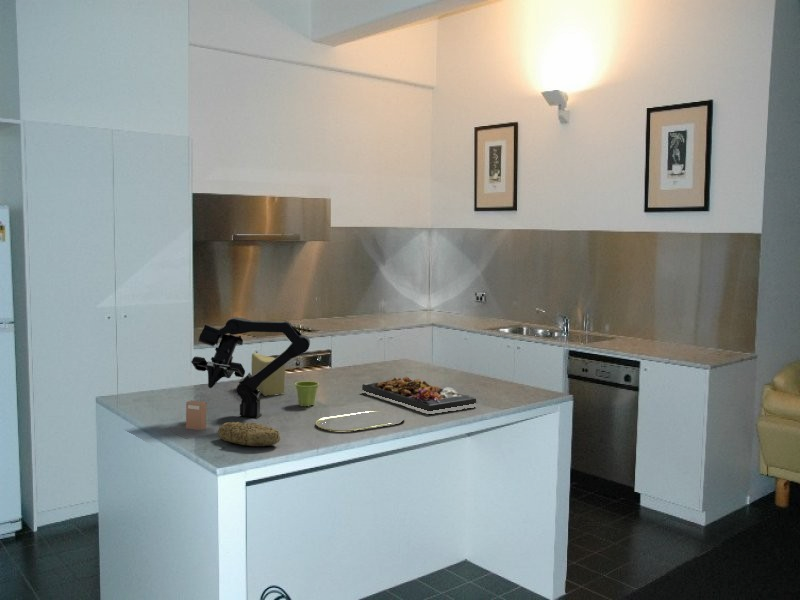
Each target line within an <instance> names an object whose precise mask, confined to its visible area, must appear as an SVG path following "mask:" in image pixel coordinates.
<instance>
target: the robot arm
mask: <svg viewBox="0 0 800 600" xmlns="http://www.w3.org/2000/svg"><path fill="white" fill-rule="evenodd" d="M247 333H283V334H284V335H285V337H287V339H288V340H289V341H290V342H291V343H290V345H289V346H287V348H286V349H285V350H284V351H283V352H281V353H280V354H279V355H278V356H276V357H274V358H275V359H274V360H273V361H271V362H270V363H269V364H268V365H266V366H265V367H264V368H262V369H261V370H260V371H259V372H257V373H256V374H254V375H252V373H251V372H248V373H247V375H246V376H245V373H246V370H245V368H244V367H243V364H242V363H239V362H233V359H234V356H233V354H234V352H235V349H236V346H237V345H239V346H243V343H244V340H243V338H242V336H241V335H242V334H247ZM239 334H241V335H239ZM236 335H237V336H236ZM238 335H239V336H238ZM198 342H199V343H201V344H204V345H208V346H211V347H215V345H217V346H218V347H217V346H216V347H215V349H214V350H215V353H214V356H211V358H210V360H211V361H209V360H208V361H207V360H206V358H205V357H202V356H198V355H197V356H194V357H193V358H192V360H191V361H190V362H191V365H192V366H193V367H194V369H195V370H196V371H200V372H205V371H207V385H208V386H207V387H208V389H212V388H213V387H214V386H215V385H216V384H217V383H218V382H219V381H220V380H222V378H226V379H230V378H231V377H232V375H233V374H234V376H235V377H236V378H237V377H238V378H241V379H240V380H239V381H238V385H237V387H236V388H235V389H236V394H237V396H239V397H240V398H241V400H240V401H241V402H240V404H239V416H238V417H239V418H243V419H253V420H257V419H258V418H260V417H261V416H262V415H263V414H262V413H261V399H259V398H260V395H261V392H259V391H258V390H257V389H256V388H257V387H258V386H259V385H260V384H261V382H263V381H264V380H265V379H266V378H268V377H269V376H270V375H271V374H273V373H274V372H275V371H276V370H278V369H279V368H280V367H282V366H283V365H284V364H285V365H286V364H287V363H288V362H289V361H291V360H292V359H294V358H296V357H299V356H301V355H303V354H304V353H306V352H307V351H308V350H309V347H311V346H310V344H311V340H310V338H309V337H308V336H307V335H304V334H302V333H301V332H300V331H299V330H298V329H297V328H296V327H295V326H293V325H292V323H291V322H289V321H287V320H284V321H276V320H275V321H273V320H270V321H267V320H264V321H263V320H250V319H247V318H242V317H239V316H238V317H236V316H234V317H233V316H232V317H231V318H229V320H227V322H225V324H224V326H222V327H220V328H217V327H214V326H211V325H209V324H207V323H206V324H204V327H203V328H202V331H201V332H200V334H199V337H198Z"/></svg>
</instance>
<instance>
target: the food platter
mask: <svg viewBox="0 0 800 600" xmlns="http://www.w3.org/2000/svg"><path fill="white" fill-rule="evenodd" d="M361 387H362V390H364V391H366V392H369V393H373V394H375V395H379V396H382V397H385V398H389V399H392V400H395V401H398V402H402V403H405V404H408V405H411V406H414V407H417V408H421V409H424V410H427V411H433V410H439V409H445V408H451V407H457V406H463V405H469V404H474V403H476V404H477V398H475V397H472V396H471V395H469V394H465V395H464V394H462V393H459V392H458V391H456V389H455V388H452V387H444V388H440V387H439V386H434V385H432V384H430V385H429V383H428V382H426V381H425V380H421V379H414V380H412V379H410V377H409V376H405V377H402V378H400V377H397V378H396V377H393V379H387V380H386V381H379V382H372V383H363V384H362V386H361ZM362 390H361V391H362Z"/></svg>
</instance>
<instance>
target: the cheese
mask: <svg viewBox="0 0 800 600" xmlns="http://www.w3.org/2000/svg"><path fill="white" fill-rule="evenodd" d="M275 358H276V357H274V356H273V357H272V356H268V355H265V354H260V353H258V352H257V353H252V354H251V375H254V374H256V373H257V372H259V371H260V370H261V369H262V368H264V367H265V366H266V365H268V364H269V363H270V362H271V361H273V360H274V359H275ZM285 383H286V363H285V364H284V365H283V366H282V367H280V368H279V369H278V370H276V371H275V372H274V373H273V374H271V375H270V376H269V377H268V378H266V379H265V380H264V381H263V382H261V384H260V385H259V386H258V387H257V388H256V389H257V390H259V391H260V394H261V395H263V396H264V397H268V396H267V395H274V396H276V395H275V394H282V393H284V394H285V389H286V388H285V387H286V386H285V385H286V384H285ZM282 395H283V394H282Z"/></svg>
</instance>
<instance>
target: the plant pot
mask: <svg viewBox="0 0 800 600" xmlns="http://www.w3.org/2000/svg"><path fill="white" fill-rule="evenodd" d="M319 384H320V383H319V382H316V381H312V380H311V381H307V380H305V381H298V382H295V383H294V386H295V389H296V392H297V400H298V405H299V406H300V405H304V406H303V407H306V406H308V405H313V404H314V405H315V404H316V395H317V389H318V386H319ZM314 405H313V406H314ZM308 407H309V406H308Z"/></svg>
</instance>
